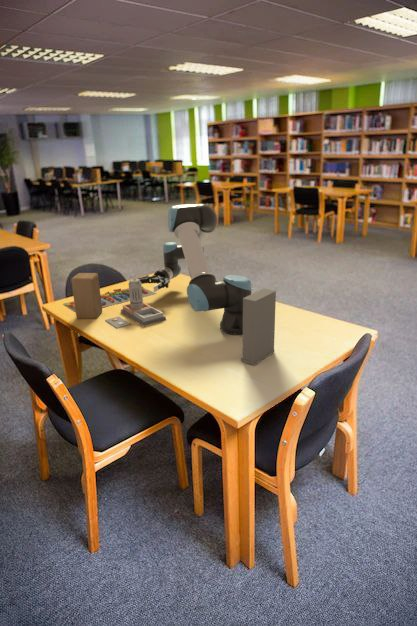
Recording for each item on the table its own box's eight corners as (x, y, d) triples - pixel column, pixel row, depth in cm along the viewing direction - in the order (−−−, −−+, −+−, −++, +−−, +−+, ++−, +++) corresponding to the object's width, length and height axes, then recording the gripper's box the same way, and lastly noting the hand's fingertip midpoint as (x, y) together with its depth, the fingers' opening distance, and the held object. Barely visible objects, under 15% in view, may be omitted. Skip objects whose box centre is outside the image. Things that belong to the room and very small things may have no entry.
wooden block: (103, 311, 216) (98, 272, 208) (96, 319, 206) (91, 278, 199) (83, 311, 217) (78, 272, 209) (75, 319, 207) (70, 278, 200)
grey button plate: (130, 324, 199) (130, 323, 199) (116, 328, 195) (116, 327, 195) (119, 317, 208) (118, 315, 208) (105, 320, 204) (105, 319, 204)
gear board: (138, 282, 253) (156, 290, 239) (138, 286, 254) (156, 294, 240) (62, 300, 227) (78, 310, 213) (63, 305, 227) (78, 315, 213)
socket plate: (165, 319, 204) (165, 312, 203) (142, 325, 197) (142, 318, 196) (142, 306, 221) (142, 300, 219) (121, 312, 214) (120, 305, 213)
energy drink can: (131, 312, 209) (128, 282, 204) (130, 308, 215) (127, 278, 210) (143, 311, 210) (141, 281, 205) (143, 307, 216) (140, 277, 211)
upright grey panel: (261, 348, 173) (262, 288, 164) (274, 352, 170) (276, 291, 161) (240, 361, 164) (240, 298, 154) (254, 366, 160) (255, 301, 151)
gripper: (184, 285, 230) (165, 297, 212) (143, 280, 239) (121, 292, 221) (183, 271, 227) (164, 282, 209) (142, 267, 236) (119, 278, 218)
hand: (142, 287), depth 215 cm, fingers open, 13 cm apart
